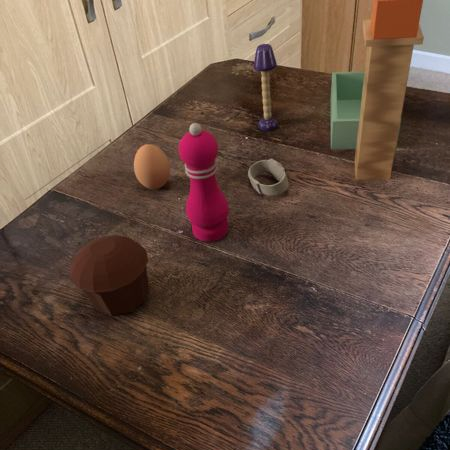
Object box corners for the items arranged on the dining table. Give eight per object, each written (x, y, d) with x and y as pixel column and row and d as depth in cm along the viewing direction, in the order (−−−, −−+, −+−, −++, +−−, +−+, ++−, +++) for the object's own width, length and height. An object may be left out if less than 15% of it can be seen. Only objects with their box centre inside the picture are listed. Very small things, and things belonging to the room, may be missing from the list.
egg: (158, 172, 100) (149, 132, 94) (180, 184, 97) (172, 143, 90) (132, 188, 97) (121, 147, 91) (153, 201, 94) (143, 159, 87)
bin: (387, 99, 112) (391, 70, 107) (395, 150, 97) (401, 119, 93) (330, 100, 114) (332, 72, 109) (330, 151, 99) (332, 121, 95)
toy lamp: (252, 127, 109) (247, 48, 97) (265, 118, 111) (262, 39, 99) (269, 133, 107) (267, 52, 94) (282, 123, 109) (281, 44, 96)
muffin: (142, 260, 83) (128, 212, 75) (167, 301, 76) (154, 253, 68) (74, 287, 80) (53, 240, 72) (94, 333, 73) (72, 286, 65)
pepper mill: (208, 249, 83) (190, 142, 68) (182, 231, 87) (160, 125, 72) (239, 229, 86) (229, 121, 71) (213, 212, 90) (198, 106, 75)
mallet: (405, -1, 80) (410, -37, 77) (416, 37, 70) (423, -2, 66) (367, 1, 81) (370, -34, 78) (372, 39, 71) (377, 0, 67)
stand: (391, 165, 94) (417, 16, 75) (394, 190, 89) (423, 37, 70) (348, 165, 95) (363, 19, 76) (349, 190, 90) (365, 39, 71)
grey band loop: (296, 191, 91) (296, 168, 88) (268, 204, 90) (267, 181, 86) (267, 170, 97) (267, 147, 93) (241, 182, 95) (239, 159, 92)
